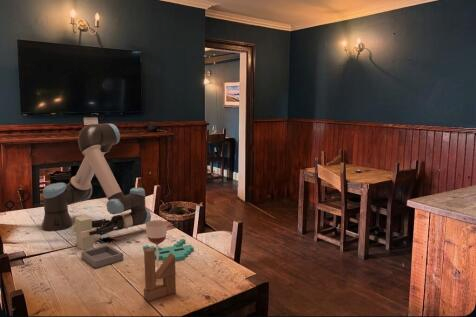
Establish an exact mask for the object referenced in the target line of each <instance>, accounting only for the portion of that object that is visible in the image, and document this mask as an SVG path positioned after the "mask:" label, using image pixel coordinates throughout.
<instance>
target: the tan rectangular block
mask: <svg viewBox="0 0 476 317" xmlns="http://www.w3.org/2000/svg"><path fill="white" fill-rule="evenodd" d="M92 221H93V220H92V218H91V217H89V216H87V215H83V216H82V215H81V216H78V217H77V216H76V217H74V224H75V225H74V226H76V232H75V237H76V238H75V239H76V247H78V249H80V250H82V251H86V250H88V249H89V250H90V249H94V238H93V236H94V235H92V236H88V237H84V238H81V232H83V231H87V230H91V229H93V228H92Z"/></svg>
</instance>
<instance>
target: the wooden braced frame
mask: <svg viewBox="0 0 476 317" xmlns="http://www.w3.org/2000/svg"><path fill="white" fill-rule="evenodd" d="M143 251H144V252H143V257H144V259H143V260H144V280H145V281H144V282H145V285H144V286H145V287H144V288H143V298H144V299H145V300H146V301H147V302H151V301H155V300H158V299H161V298H164V297H167V296H170V295H174V294H176V292H177V288H176V286H177V285H176V284H177V283H176V280H177V279H176V261H175V255H173V254H172V253H170V254H169V255H168V257H167V258H166V259H165V261H163V262H162V263H161V265H159V269H158V270H157V271H156V272H155V267H156V259H155V249H154V248H146V249H145V250H143ZM160 279H162V284H157V280H160Z"/></svg>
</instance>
